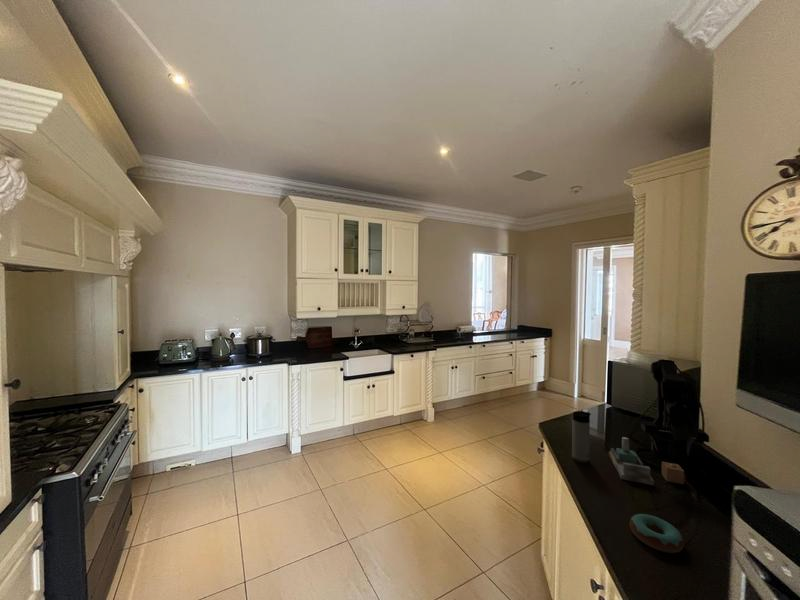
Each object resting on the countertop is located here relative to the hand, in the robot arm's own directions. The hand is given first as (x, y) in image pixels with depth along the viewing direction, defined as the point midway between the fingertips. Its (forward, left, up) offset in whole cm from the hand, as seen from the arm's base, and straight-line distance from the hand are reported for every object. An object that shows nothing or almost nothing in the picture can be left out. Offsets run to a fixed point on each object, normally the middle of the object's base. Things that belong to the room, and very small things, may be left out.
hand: (672, 453), depth 117 cm
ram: (+13, -6, -8) cm, 17 cm away
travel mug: (+30, -2, -10) cm, 32 cm away
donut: (+17, +39, -10) cm, 44 cm away
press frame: (+13, -2, -10) cm, 16 cm away
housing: (0, 0, -10) cm, 10 cm away
